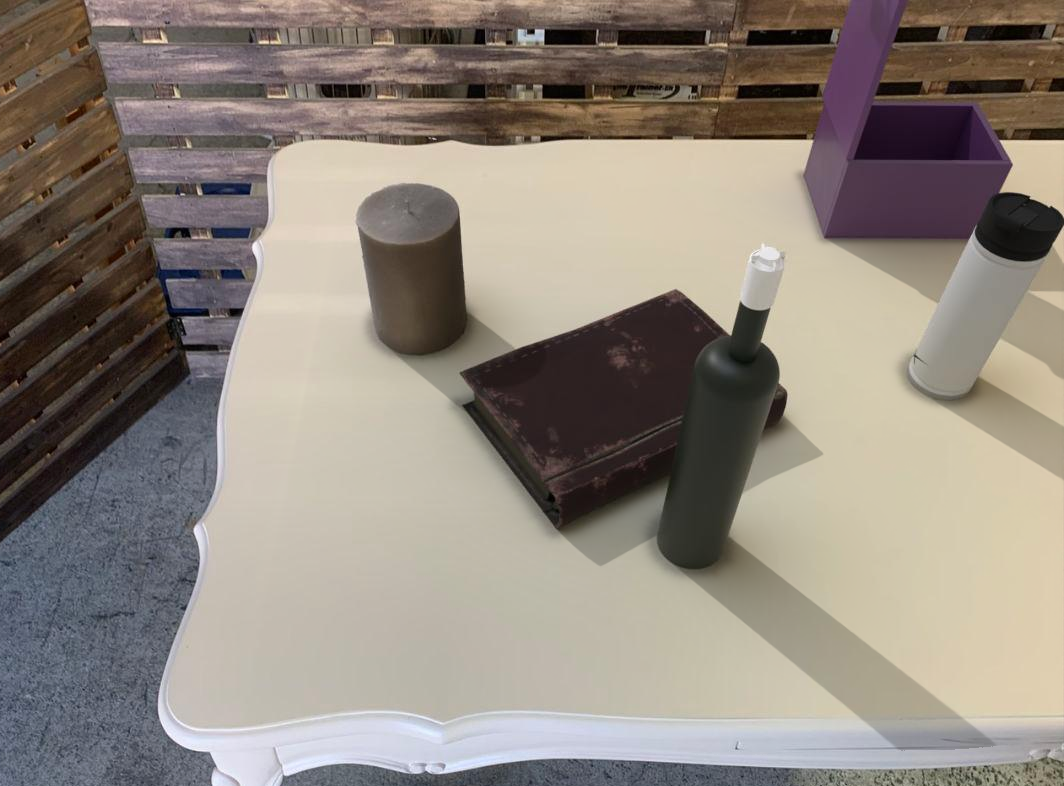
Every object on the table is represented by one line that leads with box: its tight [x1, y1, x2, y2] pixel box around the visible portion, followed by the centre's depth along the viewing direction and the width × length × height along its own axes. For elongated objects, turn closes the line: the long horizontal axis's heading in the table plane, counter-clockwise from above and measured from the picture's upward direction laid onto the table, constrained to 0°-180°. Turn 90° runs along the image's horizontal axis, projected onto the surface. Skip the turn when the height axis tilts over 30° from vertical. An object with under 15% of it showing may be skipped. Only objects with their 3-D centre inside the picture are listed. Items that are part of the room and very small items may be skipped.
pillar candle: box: [355, 182, 468, 356], centre depth 88 cm, size 10×10×15 cm
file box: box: [803, 101, 1014, 240], centre depth 103 cm, size 18×13×10 cm
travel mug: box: [906, 191, 1064, 401], centre depth 82 cm, size 6×7×20 cm
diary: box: [458, 288, 789, 529], centre depth 85 cm, size 19×25×5 cm
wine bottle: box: [656, 242, 787, 570], centre depth 66 cm, size 6×6×30 cm
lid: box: [822, 0, 909, 159], centre depth 91 cm, size 18×13×5 cm
